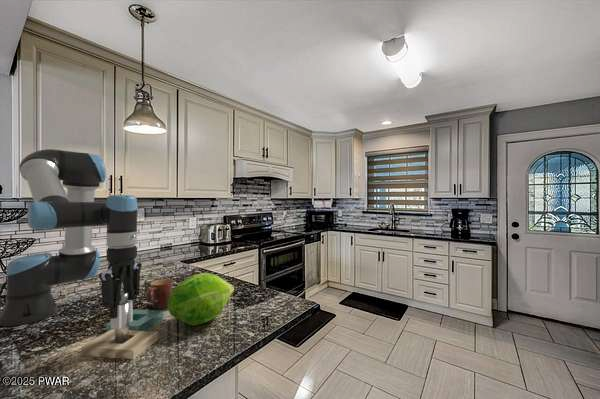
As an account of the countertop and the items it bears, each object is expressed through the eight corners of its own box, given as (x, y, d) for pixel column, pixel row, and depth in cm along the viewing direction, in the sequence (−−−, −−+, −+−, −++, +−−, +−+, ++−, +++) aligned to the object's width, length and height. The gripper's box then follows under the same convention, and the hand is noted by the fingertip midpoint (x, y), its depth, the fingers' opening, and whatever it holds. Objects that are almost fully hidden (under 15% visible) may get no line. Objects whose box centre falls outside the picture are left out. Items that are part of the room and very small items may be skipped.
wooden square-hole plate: (81, 355, 72) (81, 346, 72) (111, 337, 82) (111, 329, 82) (133, 359, 70) (133, 350, 70) (157, 339, 80) (157, 331, 80)
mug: (160, 301, 111) (160, 278, 112) (178, 303, 110) (178, 279, 110) (138, 313, 100) (138, 287, 100) (157, 315, 98) (157, 288, 98)
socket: (106, 333, 84) (106, 324, 84) (133, 317, 96) (133, 309, 96) (139, 335, 83) (139, 326, 83) (163, 318, 95) (163, 310, 95)
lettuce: (247, 316, 96) (247, 271, 96) (179, 344, 77) (179, 288, 78) (220, 303, 109) (220, 263, 109) (157, 325, 90) (157, 276, 90)
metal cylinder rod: (111, 343, 74) (111, 295, 75) (121, 337, 78) (121, 291, 78) (122, 344, 74) (122, 295, 74) (132, 337, 78) (132, 291, 78)
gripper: (109, 251, 68) (109, 340, 67) (152, 242, 84) (152, 313, 84) (84, 251, 69) (84, 338, 68) (132, 242, 85) (131, 312, 85)
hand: (121, 324), depth 76 cm, fingers closed on metal cylinder rod, 4 cm apart
